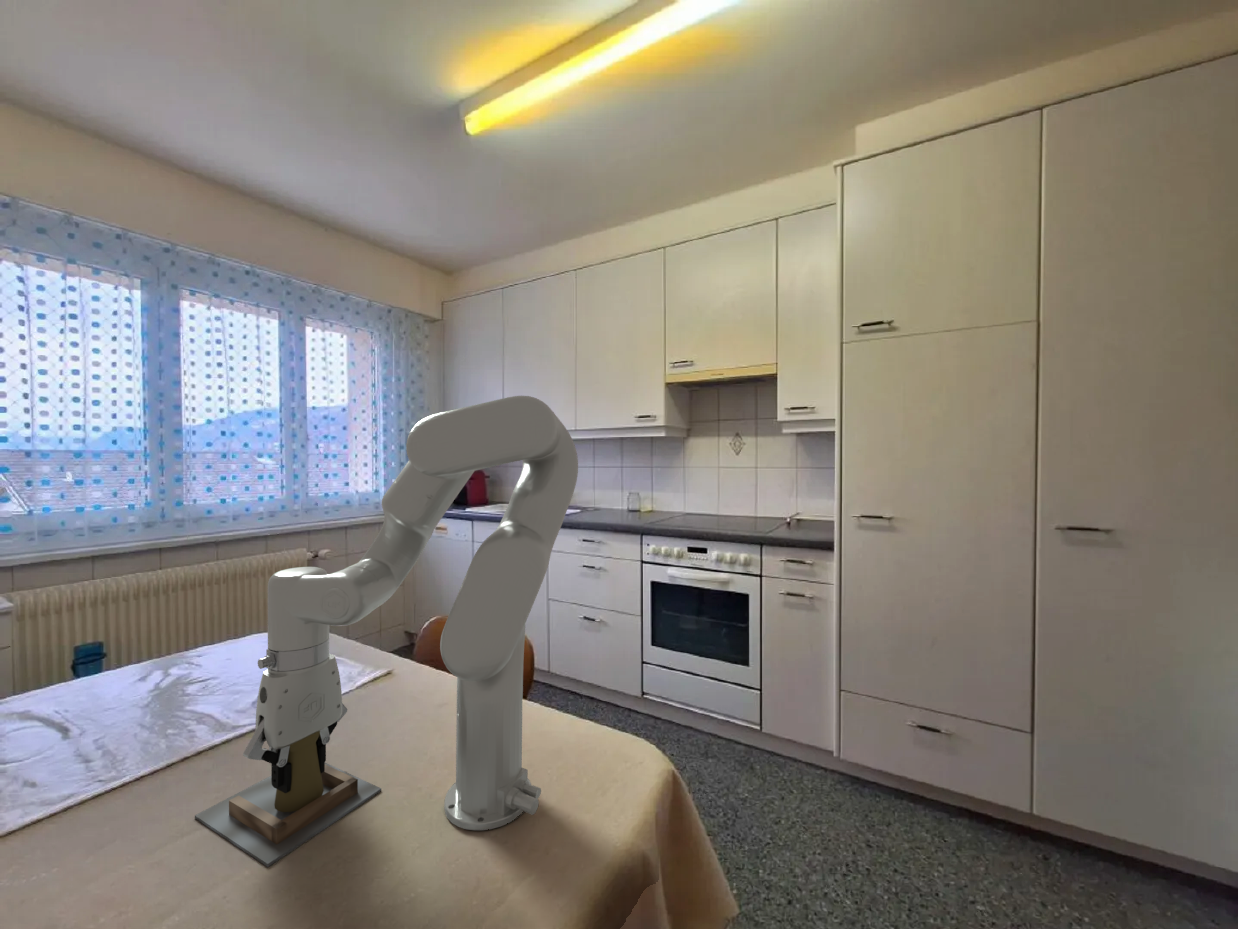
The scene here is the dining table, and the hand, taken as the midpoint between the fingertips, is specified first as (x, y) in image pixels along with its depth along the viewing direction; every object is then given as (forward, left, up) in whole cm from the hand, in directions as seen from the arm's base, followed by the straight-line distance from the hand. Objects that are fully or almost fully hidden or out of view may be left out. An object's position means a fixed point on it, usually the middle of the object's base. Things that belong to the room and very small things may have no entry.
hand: (299, 778), depth 72 cm
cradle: (+1, 0, -4) cm, 4 cm away
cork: (0, 0, -3) cm, 3 cm away
